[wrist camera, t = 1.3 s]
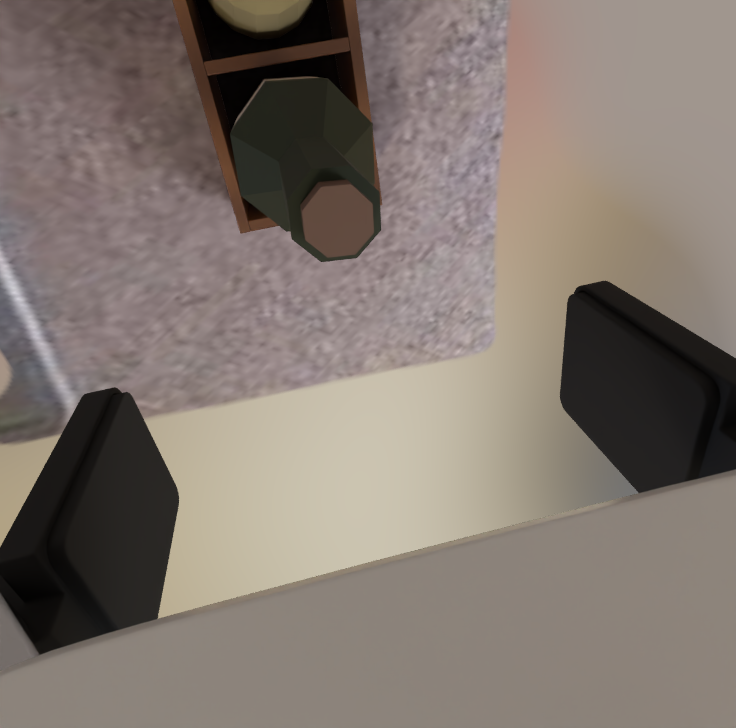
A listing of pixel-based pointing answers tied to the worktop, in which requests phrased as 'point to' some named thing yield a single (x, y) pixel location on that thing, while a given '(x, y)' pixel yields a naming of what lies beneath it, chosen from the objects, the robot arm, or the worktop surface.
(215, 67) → the bottle rack
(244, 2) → the squeeze bottle
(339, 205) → the wine bottle
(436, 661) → the robot arm
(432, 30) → the worktop surface
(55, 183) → the worktop surface
